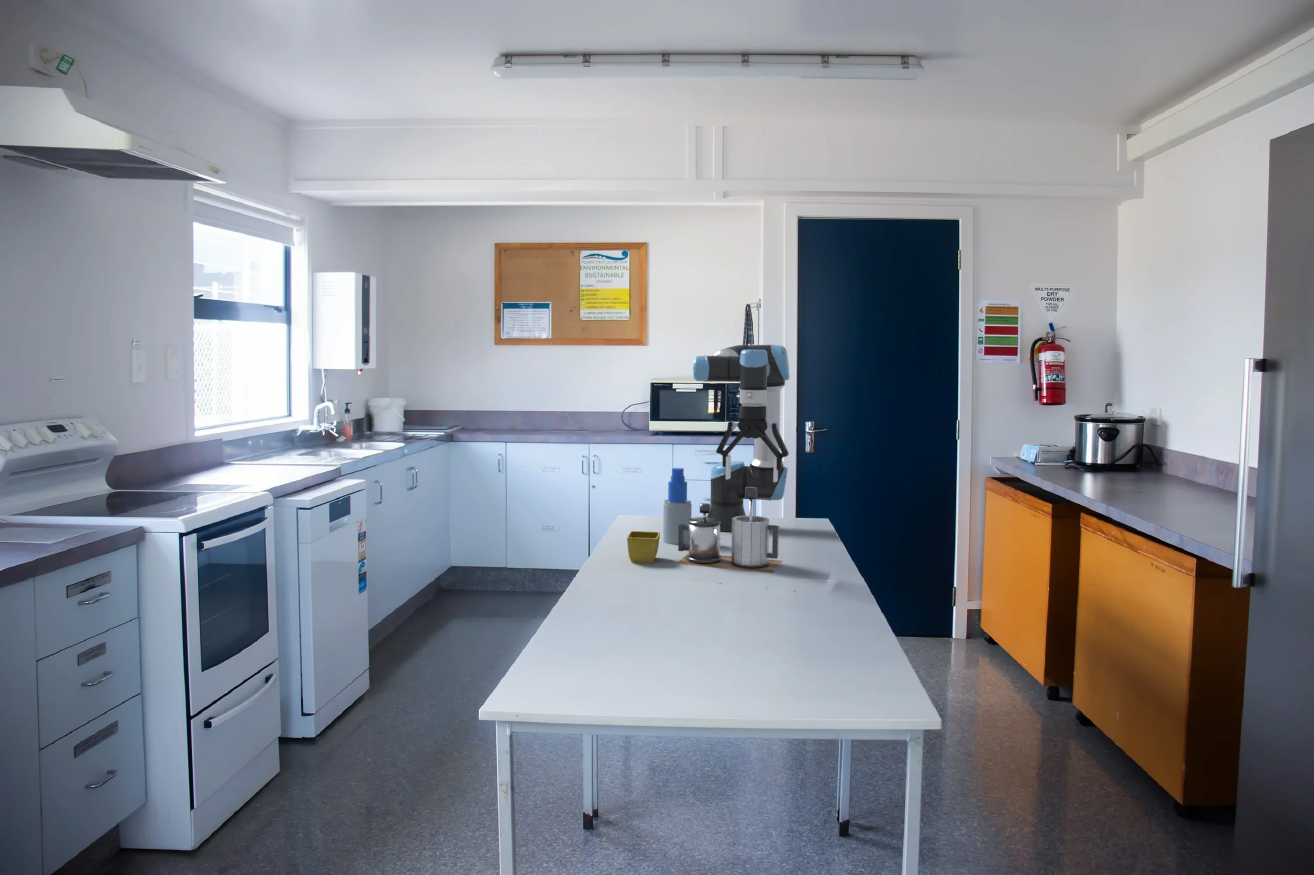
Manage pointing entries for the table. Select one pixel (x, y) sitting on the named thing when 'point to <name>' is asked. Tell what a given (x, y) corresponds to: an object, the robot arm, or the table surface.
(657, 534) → the flower pot
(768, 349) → the robot arm
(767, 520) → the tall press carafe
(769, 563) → the serving board
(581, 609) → the table surface
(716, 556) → the short press
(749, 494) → the plunger
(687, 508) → the spray bottle
